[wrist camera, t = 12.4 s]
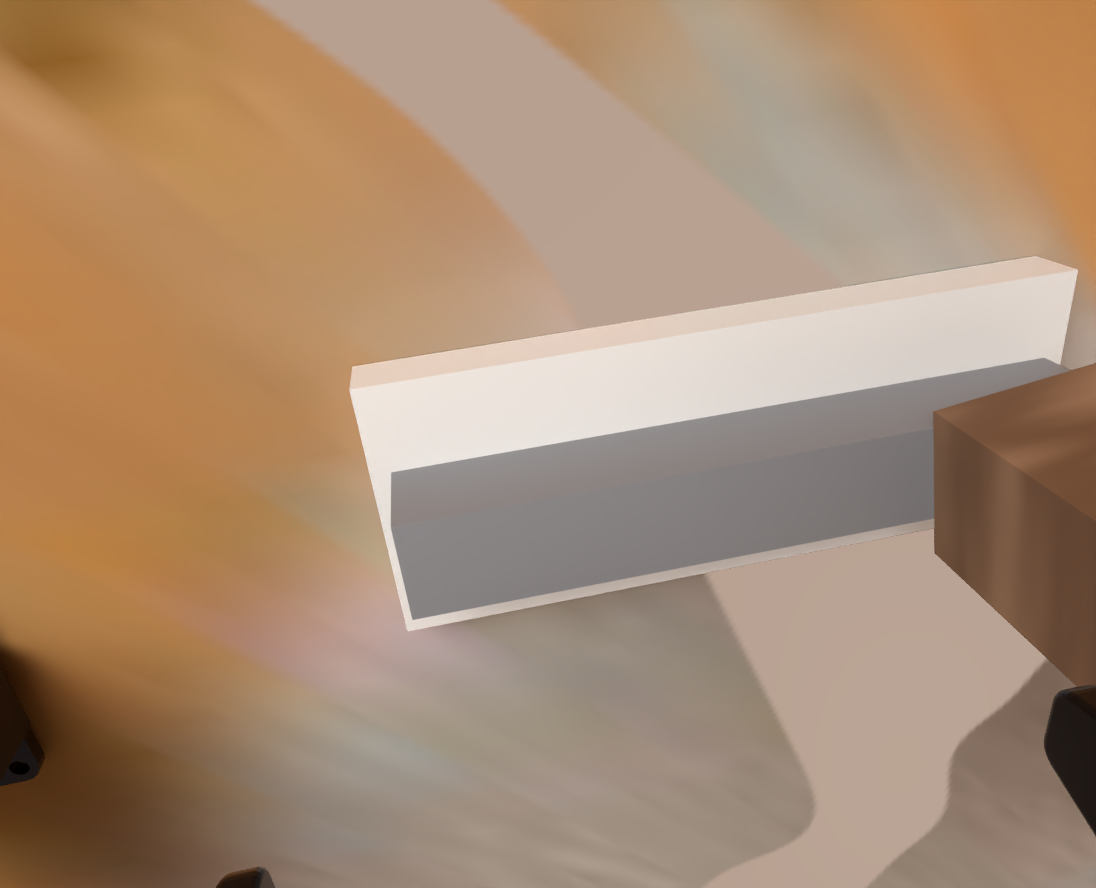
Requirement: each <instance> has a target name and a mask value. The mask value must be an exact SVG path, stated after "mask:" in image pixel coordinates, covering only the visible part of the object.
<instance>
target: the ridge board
mask: <svg viewBox="0 0 1096 888" xmlns="http://www.w3.org/2000/svg"><path fill="white" fill-rule="evenodd" d="M1077 273H1078V270H1077V269H1074V268H1071V267H1068V266H1065V265H1062V264H1059V263H1056V262H1053V261H1050V260H1046V259H1043V258H1040V257H1037V256H1033V257H1027V258H1021V259H1014V260H1008V261H1002V262H996V263H990V264H983V265H977V266H971V267H965V268H959V269H953V270H946V271H940V272H934V273H928V274H922V275H915V276H909V277H903V278H897V279H891V280H885V281H878V282H872V283H866V284H860V285H854V286H847V287H841V288H835V289H829V290H823V291H817V292H810V293H804V294H799V295H792V296H786V297H780V298H773V299H767V300H762V301H755V302H749V303H742V304H737V305H730V306H724V307H718V308H712V309H705V310H699V311H693V312H687V313H681V314H674V315H669V316H662V317H656V318H651V319H644V320H638V321H631V322H625V323H619V324H613V325H607V326H600V327H594V328H588V329H582V330H576V331H569V332H563V333H557V334H551V335H545V336H539V337H532V338H526V339H520V340H514V341H508V342H501V343H495V344H489V345H483V346H477V347H471V348H464V349H458V350H452V351H446V352H440V353H433V354H427V355H421V356H415V357H409V358H403V359H396V360H390V361H384V362H378V363H372V364H365V365H359V366H353V367H352V374H351V382H350V389H349V390H350V394H351V398H352V402H353V407H354V411H355V415H356V419H357V423H358V427H359V432H360V436H361V440H362V444H363V448H364V452H365V457H366V461H367V465H368V469H369V473H370V477H371V482H372V486H373V490H374V494H375V498H376V502H377V507H378V511H379V515H380V519H381V523H382V527H383V532H384V536H385V540H386V544H387V548H388V552H389V557H390V561H391V565H392V569H393V573H394V577H395V582H396V586H397V590H398V594H399V598H400V602H401V607H402V611H403V615H404V619H405V623H406V627H407V632H408V631H413V630H418V629H423V628H428V627H433V626H438V625H443V624H448V623H453V622H459V621H464V620H469V619H474V618H479V617H484V616H489V615H494V614H499V613H505V612H510V611H515V610H520V609H525V608H530V607H535V606H540V605H545V604H550V603H556V602H561V601H566V600H571V599H576V598H581V597H586V596H591V595H596V594H602V593H607V592H612V591H617V590H622V589H627V588H632V587H637V586H642V585H647V584H653V583H658V582H663V581H668V580H673V579H678V578H683V577H688V576H693V575H699V574H704V573H709V572H714V571H719V570H724V569H728V568H734V567H739V566H744V565H749V564H755V563H760V562H765V561H770V560H775V559H780V558H785V557H790V556H795V555H801V554H806V553H811V552H816V551H821V550H826V549H831V548H836V547H841V546H846V545H852V544H857V543H862V542H867V541H871V540H877V539H882V538H887V537H893V536H897V535H903V534H908V533H913V532H918V531H923V530H928V529H933V528H934V434H933V411H936V410H939V409H943V408H946V407H949V406H953V405H956V404H959V403H963V402H966V401H970V400H973V399H976V398H980V397H983V396H987V395H990V394H993V393H997V392H1000V391H1004V390H1007V389H1010V388H1014V387H1017V386H1021V385H1024V384H1027V383H1031V382H1034V381H1037V380H1041V379H1044V378H1048V377H1051V376H1054V375H1058V374H1061V373H1065V372H1068V371H1071V370H1069V369H1067V368H1065V367H1063V366H1061V365H1060V362H1061V357H1062V352H1063V346H1064V341H1065V336H1066V331H1067V325H1068V320H1069V315H1070V310H1071V304H1072V299H1073V294H1074V289H1075V283H1076V278H1077Z"/></svg>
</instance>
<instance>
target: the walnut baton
mask: <svg viewBox="0 0 1096 888" xmlns="http://www.w3.org/2000/svg"><path fill="white" fill-rule="evenodd" d="M933 434H934V535H935V536H934V538H935V539H934V545H935V554H936V555H938V557H940V558H941V559H942V560H943V561H944V562H945V563H946V564H947V565H948V566H949V567H950V568H951V569H952V570H953V571H954V572H956V573H957V574H958V575H959V576H960V577H961V578H962V579H963V580H964V581H965V582H966V583H967V584H968V585H969V586H970V587H971V588H973V589H974V590H975V591H976V592H977V593H978V594H979V595H980V596H981V597H982V598H983V599H984V600H985V601H986V602H987V603H989V604H990V605H991V606H992V607H993V608H994V609H995V610H996V611H997V612H998V613H999V614H1000V615H1002V617H1004V618H1005V619H1006V620H1007V621H1008V622H1009V623H1010V624H1011V625H1012V626H1013V627H1014V628H1015V629H1016V630H1017V631H1018V632H1020V633H1021V634H1022V635H1023V636H1024V637H1025V638H1026V639H1027V640H1028V641H1029V642H1030V643H1031V644H1032V645H1033V646H1034V647H1036V648H1037V649H1038V650H1039V651H1040V652H1041V653H1042V654H1043V655H1044V656H1045V657H1046V658H1047V659H1048V660H1049V661H1050V662H1052V663H1053V664H1054V665H1055V666H1056V667H1057V668H1058V669H1059V670H1060V671H1061V672H1062V673H1063V674H1064V675H1065V676H1066V677H1068V678H1069V679H1070V680H1071V681H1072V682H1073V683H1074V684H1075V685H1076V686H1077V687H1080V686H1084V685H1094V686H1096V363H1095V364H1092V365H1088V366H1085V367H1082V368H1078V369H1075V370H1071V371H1068V372H1065V373H1061V374H1058V375H1054V376H1051V377H1048V378H1044V379H1041V380H1037V381H1034V382H1031V383H1027V384H1024V385H1021V386H1017V387H1014V388H1010V389H1007V390H1004V391H1000V392H997V393H993V394H990V395H987V396H983V397H980V398H976V399H973V400H970V401H966V402H963V403H959V404H956V405H953V406H949V407H946V408H943V409H939V410H936V411H933Z"/></svg>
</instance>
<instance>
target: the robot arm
mask: <svg viewBox="0 0 1096 888" xmlns="http://www.w3.org/2000/svg"><path fill="white" fill-rule="evenodd" d="M1044 748H1045V752H1046V755H1047V757H1048V760H1049V762H1050V764H1051V766H1052V767H1053V769H1054V770H1055V772H1056V774H1057V775H1058V777H1059V778H1060V780H1061V782H1062V783H1063V785H1064V786H1065V788H1066V789H1067V791H1068V793H1069V794H1070V796H1071V797H1072V799H1073V801H1074V802H1075V804H1076V805H1077V807H1078V809H1079V810H1080V812H1081V813H1082V815H1083V817H1084V818H1085V820H1086V821H1087V823H1088V825H1089V826H1090V828H1091V829H1092V831H1093V833H1094V834H1095V836H1096V686H1094V685H1084V686H1080V687H1075V688H1071V689H1066V690H1062V691H1060V692H1059V693H1057V694H1056V696H1055V697H1054V700H1053V704H1052V708H1051V712H1050V716H1049V720H1048V725H1047V729H1046V733H1045V737H1044ZM44 760H45V756H44V752H43V751H42V749H41V747H40V745H39V743H38V741H37V740H36V738H35V736H34V734H33V732H32V730H31V729H30V723H29V721H28V719H27V717H26V715H25V713H24V712H23V710H22V708H21V706H20V704H19V702H18V701H17V699H16V697H15V695H14V693H13V691H12V690H11V688H10V686H9V684H8V682H7V680H6V679H5V677H4V675H3V673H2V671H1V669H0V786H3V785H7V784H12V783H17V782H22V781H27V780H30V779H32V778H34V777H35V776H36V775H37V774H38V773H39V771H40V769H41V767H42V765H43V763H44ZM19 761H22V762H25V763H21V762H19ZM216 888H275V886H274V883H273V881H272V878H271V876H270V874H269V872H268V871H267V870H266V869H265V868H264V867H255V868H251V869H246V870H242V871H237V872H233V873H230V874H228V875H226V876H225V877H224V878H223V879H222V880H221V881H220V882H219V884H218V885H217V887H216Z"/></svg>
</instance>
